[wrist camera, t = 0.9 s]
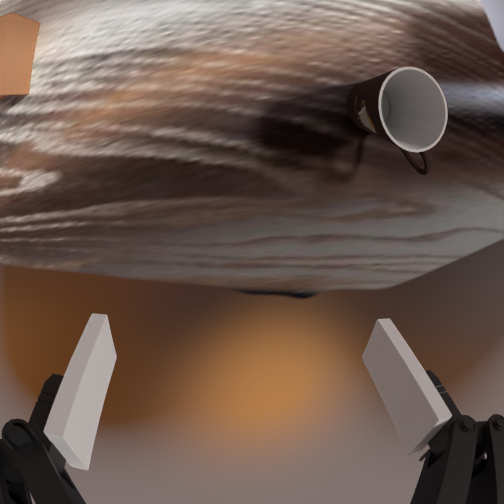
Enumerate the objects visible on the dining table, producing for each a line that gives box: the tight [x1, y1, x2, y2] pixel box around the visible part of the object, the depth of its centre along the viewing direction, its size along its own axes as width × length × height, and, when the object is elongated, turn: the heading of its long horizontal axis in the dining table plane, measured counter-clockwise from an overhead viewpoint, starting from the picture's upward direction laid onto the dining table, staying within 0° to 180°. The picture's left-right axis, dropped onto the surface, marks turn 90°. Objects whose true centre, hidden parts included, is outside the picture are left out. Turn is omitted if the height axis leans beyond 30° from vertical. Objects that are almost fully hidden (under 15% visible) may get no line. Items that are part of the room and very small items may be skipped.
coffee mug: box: [347, 67, 447, 175], centre depth 29 cm, size 12×9×10 cm
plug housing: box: [0, 13, 40, 99], centre depth 21 cm, size 10×6×7 cm, turn 172°
